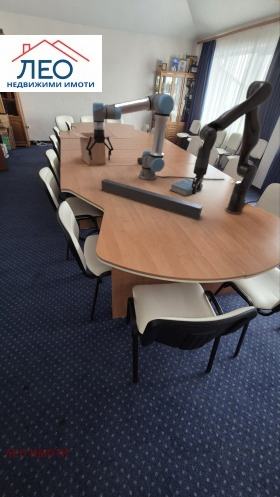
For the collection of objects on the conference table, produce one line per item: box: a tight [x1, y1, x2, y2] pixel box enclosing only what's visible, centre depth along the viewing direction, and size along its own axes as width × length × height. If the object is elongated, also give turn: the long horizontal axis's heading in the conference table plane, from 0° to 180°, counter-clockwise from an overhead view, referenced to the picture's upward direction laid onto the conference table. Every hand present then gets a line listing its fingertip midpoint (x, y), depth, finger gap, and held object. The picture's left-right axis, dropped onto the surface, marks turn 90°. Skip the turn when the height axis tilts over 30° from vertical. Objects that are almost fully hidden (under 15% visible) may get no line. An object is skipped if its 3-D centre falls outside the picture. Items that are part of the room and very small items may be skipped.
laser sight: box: [136, 155, 143, 165], centre depth 236 cm, size 10×22×10 cm, turn 78°
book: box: [170, 178, 204, 197], centre depth 184 cm, size 23×16×5 cm
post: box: [100, 178, 203, 220], centre depth 159 cm, size 79×5×8 cm, turn 60°
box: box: [70, 129, 114, 166], centre depth 229 cm, size 44×36×27 cm
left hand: (100, 160), depth 169 cm, fingers open, 13 cm apart
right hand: (195, 191), depth 139 cm, fingers open, 8 cm apart
